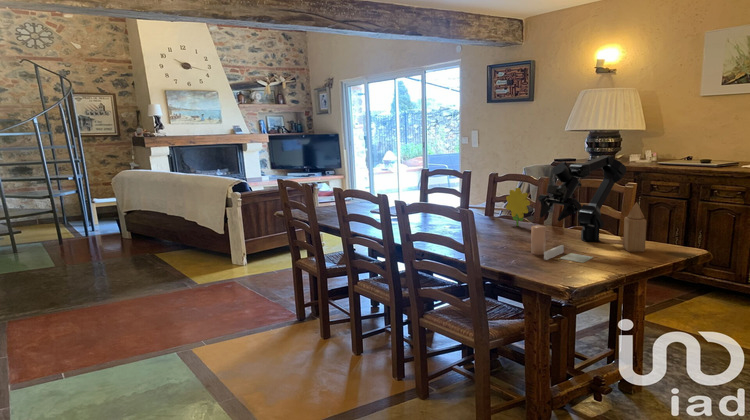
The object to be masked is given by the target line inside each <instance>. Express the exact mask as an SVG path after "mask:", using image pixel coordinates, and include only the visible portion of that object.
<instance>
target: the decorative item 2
mask: <svg viewBox="0 0 750 420" xmlns="http://www.w3.org/2000/svg"><path fill="white" fill-rule="evenodd" d="M638 203H639V202H637V201H636V202H635V203H634V205H633V206H632V208H631V210H630V211H629V213H628V214H627V216H625V217H624V218H623V219H624V220H623V221H624V222H623V224H624V225H623V238H622V239H623V240H622V241H623V243H622V247H623V249H624V250H625V251H627V252H629V253H632V252H633V253H636V252H637V253H644V252H645V251H646V237H647V235H646V234H647V219H645V216H644V214H643V212H642V209H641V207H640V206H639V204H638Z"/></svg>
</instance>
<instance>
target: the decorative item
mask: <svg viewBox="0 0 750 420" xmlns="http://www.w3.org/2000/svg"><path fill="white" fill-rule="evenodd" d="M528 195H529V194H528V192H522V189H521V188H520V187H515V189H510V190H509V195H507V196H505V199H506V201H507V204H506V205H505V209H506V210H508V211H511V217H512V220H513V221H516V222H515V223H516V226H517V227H519V221H520V222H523V220H524V216H525V215H524V214H528V213H529V209H528V206H530V205H531V201H530V200H529V199H528Z"/></svg>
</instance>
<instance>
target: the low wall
mask: <svg viewBox="0 0 750 420" xmlns="http://www.w3.org/2000/svg"><path fill="white" fill-rule="evenodd" d="M564 248H565V247H564V244H563V245H562V244H560V245H557V246H555V247H553V248H551V249H548V250H545V252H544V254H543V260H545V261H549V260H550V259H552V258H555V257H557V256H559V255H561V254H564Z"/></svg>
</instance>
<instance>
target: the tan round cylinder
mask: <svg viewBox="0 0 750 420" xmlns="http://www.w3.org/2000/svg"><path fill="white" fill-rule="evenodd" d="M530 228H531V234H530V238H531V239H530V254H532V255H534V256H535V255H538V256H544V252H545V251H546V234H547V233H546V229H547V227H546V226H544V225H537V224H536V225H532V226H531V227H530Z"/></svg>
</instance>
